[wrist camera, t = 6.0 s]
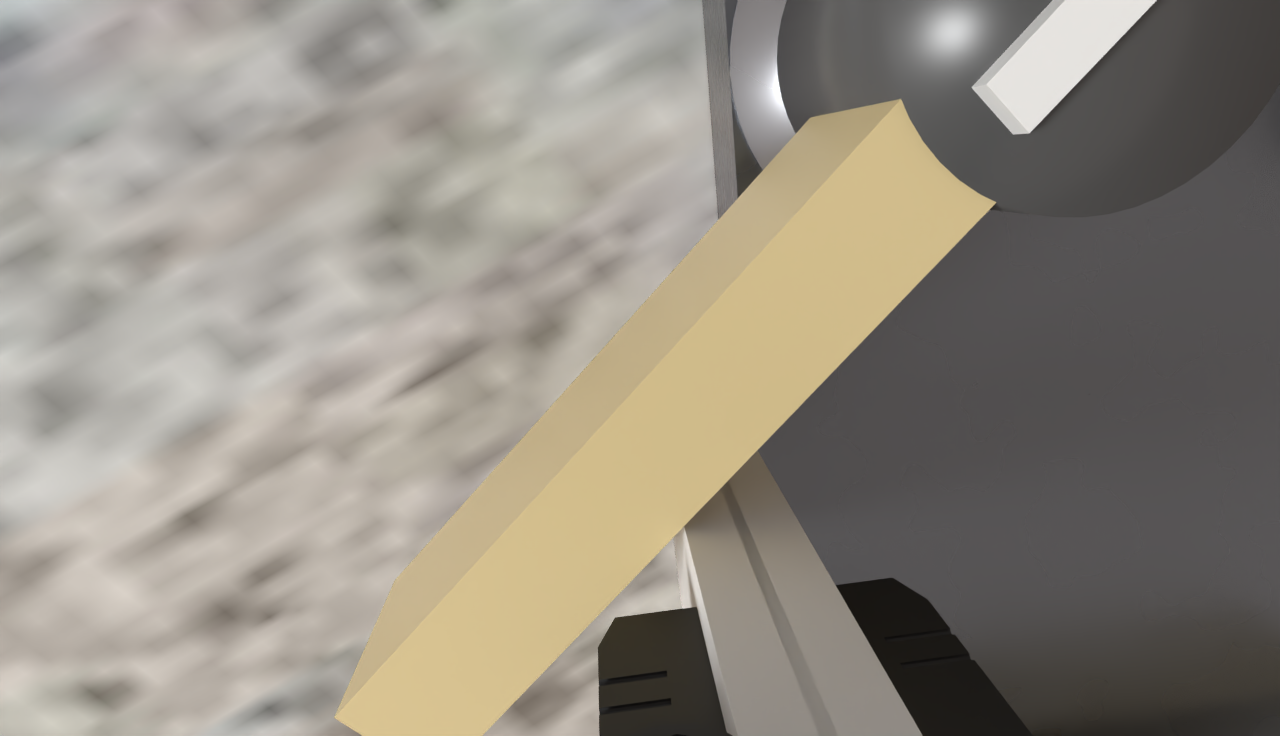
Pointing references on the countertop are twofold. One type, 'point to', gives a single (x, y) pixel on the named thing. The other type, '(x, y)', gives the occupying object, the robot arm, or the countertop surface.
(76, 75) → the countertop surface
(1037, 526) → the dark grey knob panel
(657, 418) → the knob
